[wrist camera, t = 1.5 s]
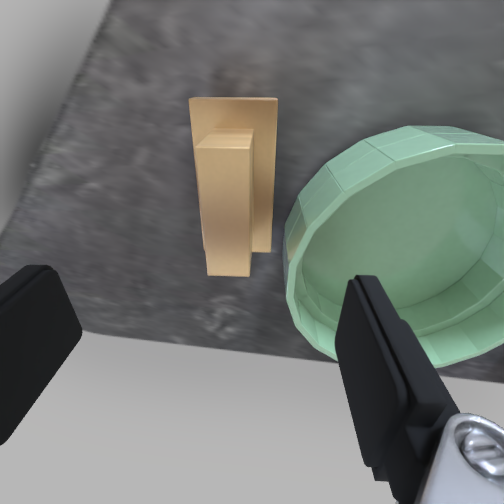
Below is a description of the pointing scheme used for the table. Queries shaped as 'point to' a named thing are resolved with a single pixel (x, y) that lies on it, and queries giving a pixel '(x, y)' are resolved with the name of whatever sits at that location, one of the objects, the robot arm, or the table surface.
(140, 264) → the table surface
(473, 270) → the bowl
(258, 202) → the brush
